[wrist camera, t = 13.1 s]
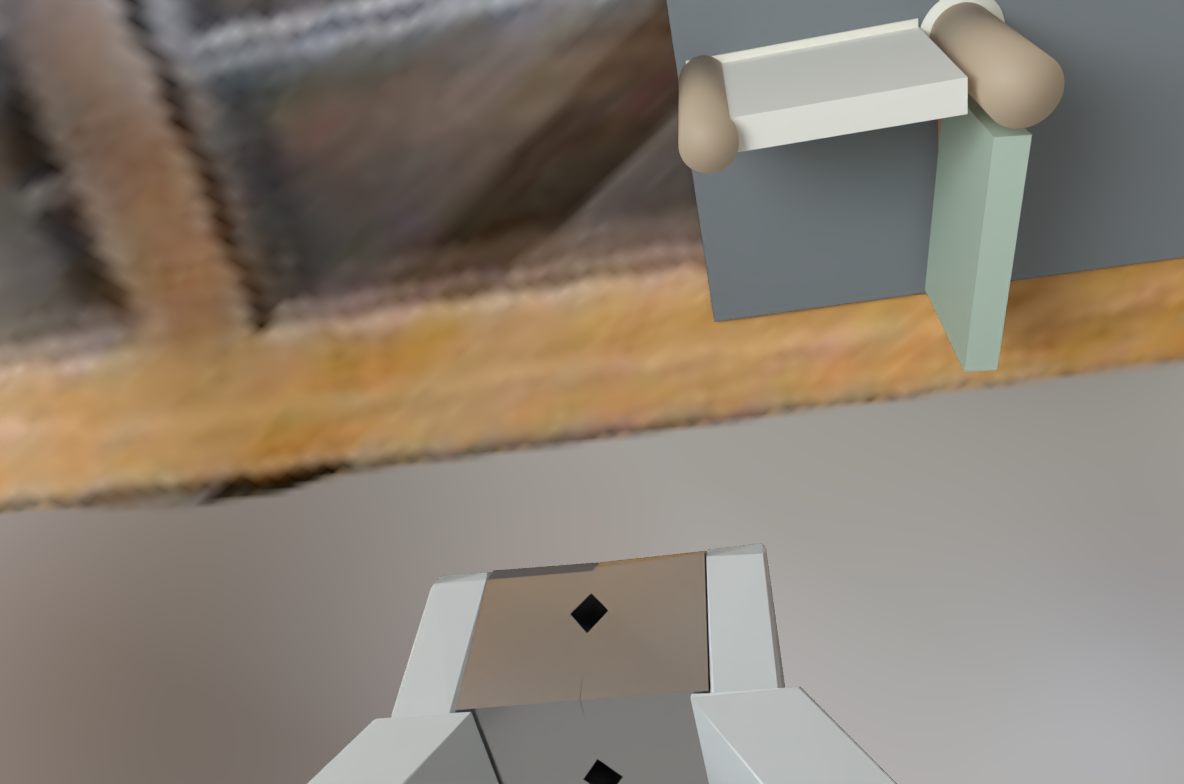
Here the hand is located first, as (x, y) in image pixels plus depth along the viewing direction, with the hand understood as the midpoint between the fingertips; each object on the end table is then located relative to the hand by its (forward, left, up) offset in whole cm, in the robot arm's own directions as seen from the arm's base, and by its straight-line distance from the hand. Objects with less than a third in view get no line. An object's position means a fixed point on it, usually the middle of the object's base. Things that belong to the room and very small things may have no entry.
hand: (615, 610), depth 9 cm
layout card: (+11, -8, -34) cm, 36 cm away
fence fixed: (+6, -4, -34) cm, 35 cm away
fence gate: (+10, -10, -33) cm, 36 cm away
